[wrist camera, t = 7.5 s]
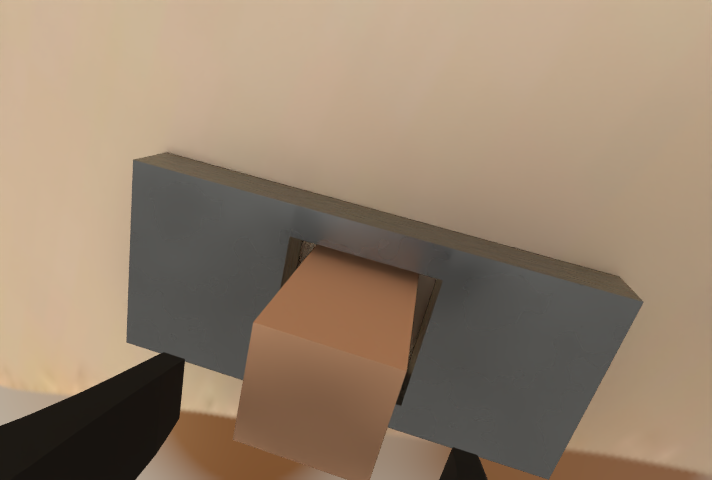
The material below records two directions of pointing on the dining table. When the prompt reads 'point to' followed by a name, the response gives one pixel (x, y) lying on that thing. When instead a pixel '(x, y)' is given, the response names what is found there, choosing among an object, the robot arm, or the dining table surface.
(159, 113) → the dining table surface
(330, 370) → the square peg
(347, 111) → the dining table surface
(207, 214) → the grey square hole board
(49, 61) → the dining table surface
